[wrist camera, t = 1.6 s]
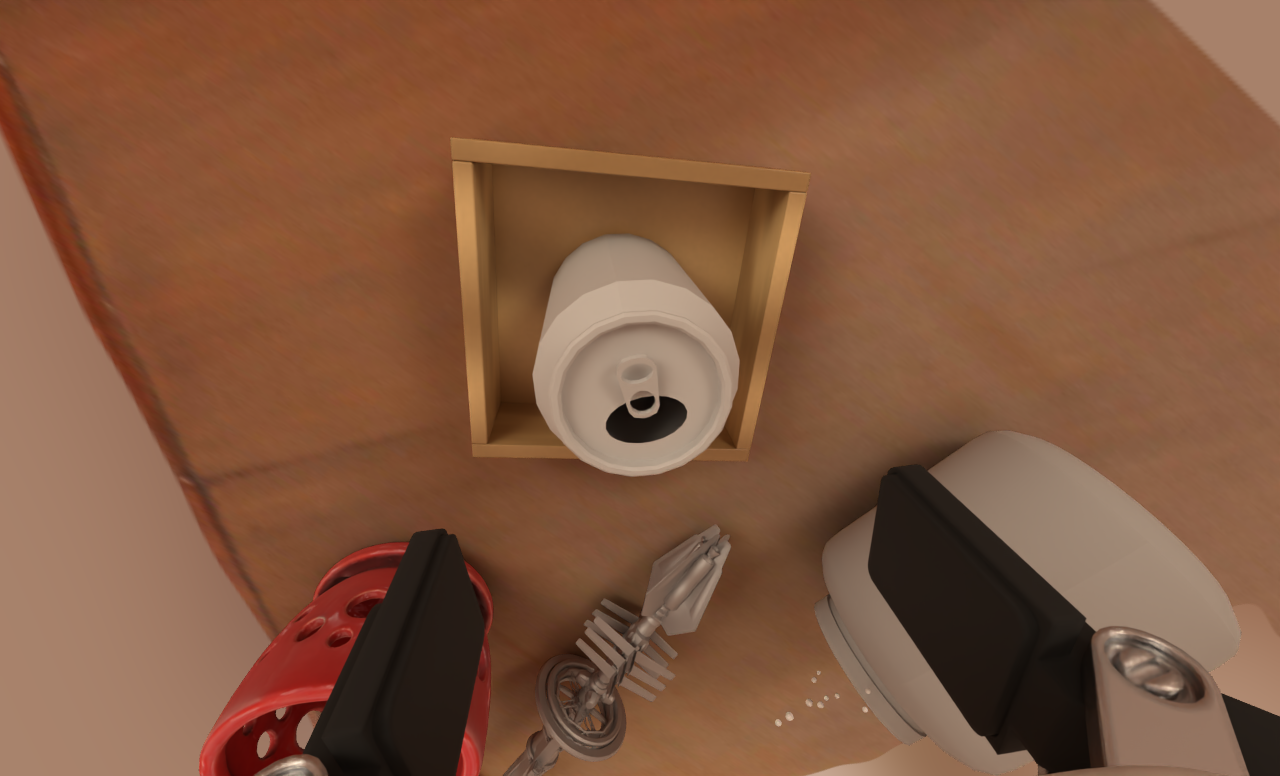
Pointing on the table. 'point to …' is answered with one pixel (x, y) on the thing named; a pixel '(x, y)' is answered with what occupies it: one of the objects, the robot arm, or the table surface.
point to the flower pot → (326, 669)
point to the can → (633, 359)
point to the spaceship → (621, 658)
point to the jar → (1056, 549)
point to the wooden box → (589, 208)
